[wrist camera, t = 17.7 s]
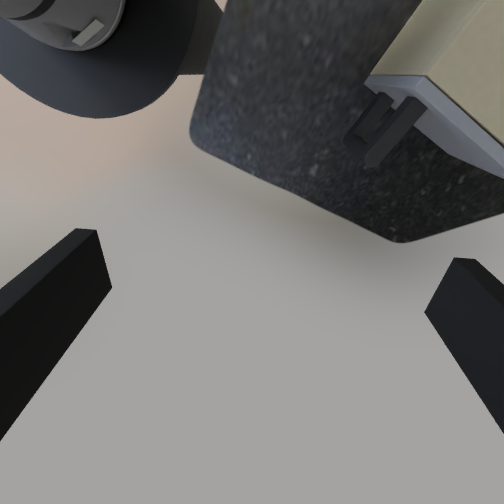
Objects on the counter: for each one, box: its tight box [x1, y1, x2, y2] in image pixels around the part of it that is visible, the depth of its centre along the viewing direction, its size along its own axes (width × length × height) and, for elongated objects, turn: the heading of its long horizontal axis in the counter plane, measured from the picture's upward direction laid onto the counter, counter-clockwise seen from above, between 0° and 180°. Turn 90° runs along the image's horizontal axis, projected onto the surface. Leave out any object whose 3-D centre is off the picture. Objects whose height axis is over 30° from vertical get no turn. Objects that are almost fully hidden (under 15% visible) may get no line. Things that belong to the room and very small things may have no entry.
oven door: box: [343, 75, 504, 179], centre depth 30 cm, size 7×15×14 cm, turn 58°
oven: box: [370, 0, 504, 148], centre depth 26 cm, size 11×15×14 cm
